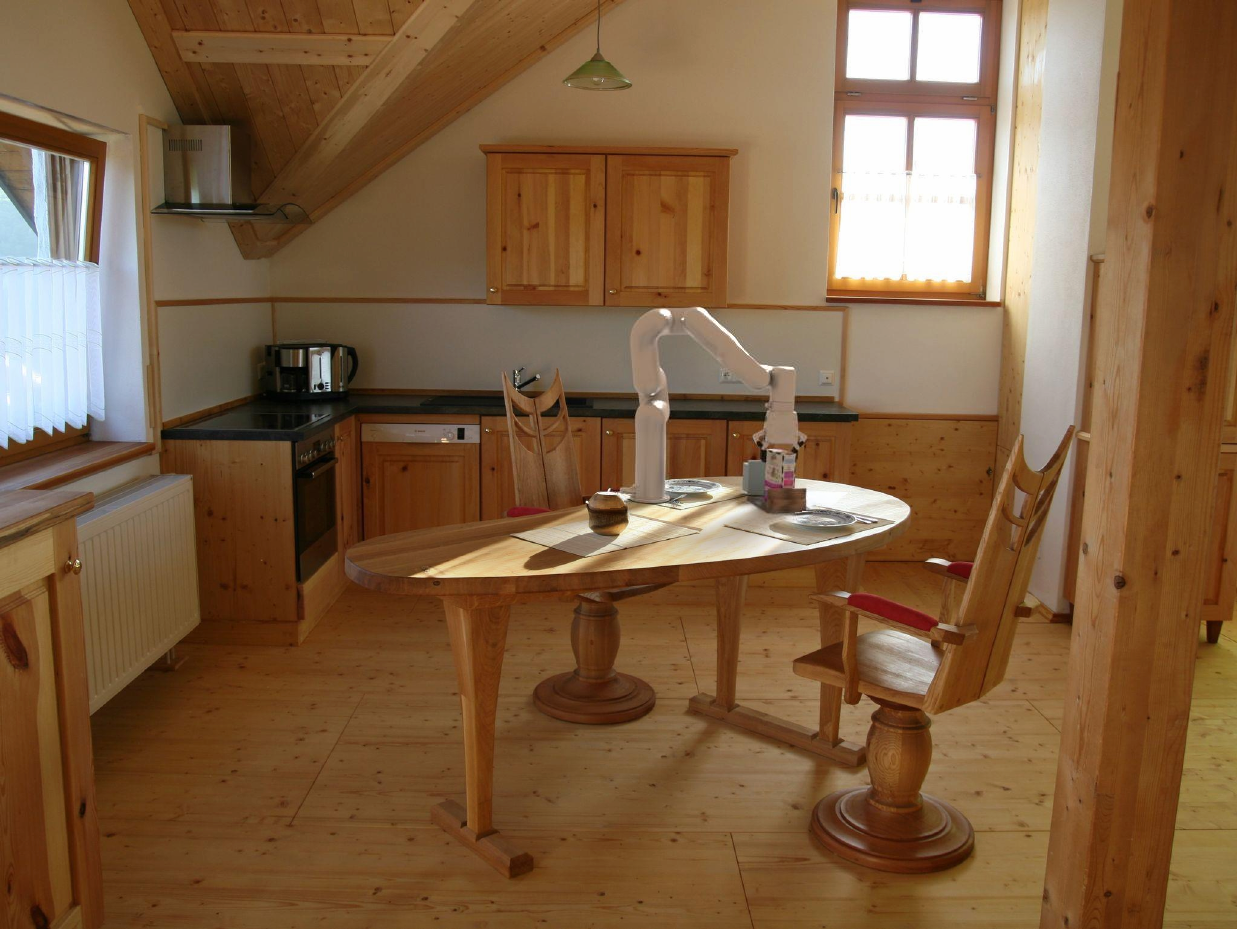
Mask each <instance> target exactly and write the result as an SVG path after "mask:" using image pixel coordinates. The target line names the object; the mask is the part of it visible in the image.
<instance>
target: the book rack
mask: <svg viewBox="0 0 1237 929" xmlns="http://www.w3.org/2000/svg"><path fill="white" fill-rule="evenodd" d="M746 500H747V501H748V502H750V503H751V504H753V505H754V506H755V507H758V508H759V509H761V510H762V511H764V512H765V513H766V514H768V515H773V514H776V515H777V514H796V513H795V512H802V511H813V512H814V510H813V509H811V508H810V507H809V506H807V488H806V487H795V488H771V489H767V501H765V500H764V496H747V497H746Z"/></svg>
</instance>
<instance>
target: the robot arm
mask: <svg viewBox="0 0 1237 929" xmlns="http://www.w3.org/2000/svg"><path fill="white" fill-rule="evenodd" d="M669 335H670V336H677V335H680V336H682V335H685V336H686V335H689V336H690V337H691V338H692V339H693V340H694V341H696V342H697V343H698V344H699V345H700V346H701V347H703V348H704V349H705V350H706V351H707V352H708V353H709V354H710V355H711V356H712V357H714V358H715V359H716V361H718V362H719V364H721V365H722V366H724V367H725V368H726V369H727V370H728V371H729V372H730V373H731V374H732V375H734V376H735V378H737V379H738V380H739V381H740V382H742V384H744V385H745V386H746V387H747V388H748V389H750V390H751V391H755V392H761V391H763V390H765V389H769V400H768V402H765V404H764V407H765V408H768V410H767V411H766V414H765V419H764V424H763V429H761V430H759V431H758V432H755V433H753V434H752V438H753V441H754V443H755V444H756V446H757V447H758V448H759V449H760V451H759V460H761V461H762V462H764V463H766V461H767V450H766V449H767V448H768V447H769V445H791V447H792V448H791V451H790V452H792V453H796V461H797V460H798V459H799V451H800V449H801V448H802V446H804V444H805V442H806V440H807V439H808V435H806V434H805V433H803V432H801V431H800V430H799V423H798V413H797V411H795V397H796V383H797V382H796V380H797V370H796V369H795V368H794V367H791V366H783V365H781V366H770V365H764V364H760V363H759V362H757V360H755V359H754V358H753V357H752V356H751V355H749V353H748V352H747V351H746V350H744V348H743V347H742V346H741V345H740V343H739V342H738V340H737V339H736V338H735V337H734V335H733V334H731V333H730V332H729V331H728V330H727V329H726V328H724V326H722V325H721V324H719V322H717V321H716V320H715V319H714V318H713V317H712V316H711V315H710V314H709V312H708V311H707V310H706V309H704V308H703V307H699V306H693V307H681V308H680V307H673V308H672V307H670V308H669V307H667V308H666V307H665V308H653V309H651V310H649V311H647V312H646V313H644V314H643V315H641V316H640V317H639V318H638V319H637V320H636V322H635V323H634V325H633V326H632V329H631V333H630V337H629V338H630V341H629V344H630V357H631V358H630V359H631V367H632V379H633V380H632V382H633V387H634V389H635V391H636V392H637V394H638V400H639V402H638V403H639V405H638V407H637V409H636V412H635V416H634V424H635V425H634V427H635V428H634V429H635V464H634V465H635V470H634V471H635V474H634V475H635V477H634V482H635V483H633V484H632V486H630V487H620V488H619V491H620V492H619V493H620V494H621V495H623V494H625V495H630V496H629V499H630V500H631V501H632V502H636V503H640V504H641V503H643V504H660V503H666V502H668V501H671V500H670V499H671V497H670V495H669V494H666V471H667V470H666V469H667V465H666V463H667V461H666V460H667V457H666V456H667V421H668V420H669V417H670V412H671V410H670V409H671V408H670V401H669V392H668V391H669V390H668V383H667V376H666V373H665V372H664V370H663V369H662V368H661V366H660V360H659V356H660V355H659V349H658V348H659V347H658V342H659V341H658V340H659V338H660V337H663V336H669ZM760 437H762V442H761V441H760ZM799 437H800V439H799Z"/></svg>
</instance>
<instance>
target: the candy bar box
mask: <svg viewBox="0 0 1237 929" xmlns="http://www.w3.org/2000/svg"><path fill="white" fill-rule="evenodd" d="M766 450H767V461H766V466H765V490H764V495H763V497H764V500H765V501H767V489H771V488H796V471H797V470H796V469H797V468H796V467H797V460H796V453H792V452H791V451H788V450H784V449H782V448H781V449H780V448H769V449H768V448H766Z"/></svg>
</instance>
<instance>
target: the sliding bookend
mask: <svg viewBox="0 0 1237 929" xmlns="http://www.w3.org/2000/svg"><path fill="white" fill-rule="evenodd" d="M765 466H766V463H764V462H762V461H761V459H757V460H753V459H752V460H747V462H743V464H742V490H743V491H744V492H745V493H746V495H747V496H750V495H751V496H756V495H760V496H761V495H763V496H764V490H765Z"/></svg>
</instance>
